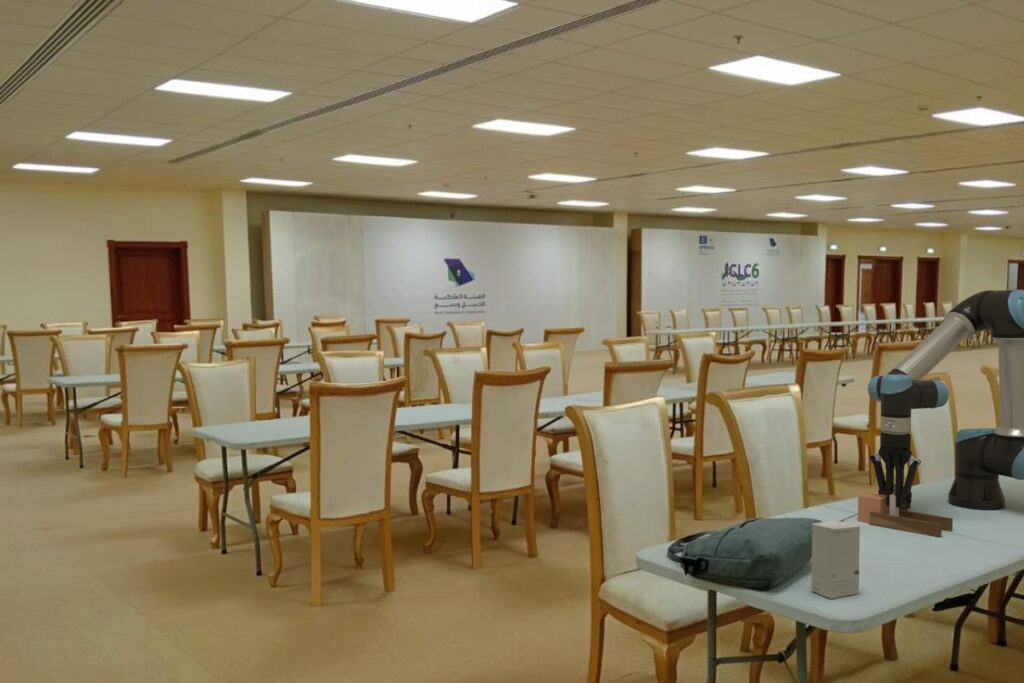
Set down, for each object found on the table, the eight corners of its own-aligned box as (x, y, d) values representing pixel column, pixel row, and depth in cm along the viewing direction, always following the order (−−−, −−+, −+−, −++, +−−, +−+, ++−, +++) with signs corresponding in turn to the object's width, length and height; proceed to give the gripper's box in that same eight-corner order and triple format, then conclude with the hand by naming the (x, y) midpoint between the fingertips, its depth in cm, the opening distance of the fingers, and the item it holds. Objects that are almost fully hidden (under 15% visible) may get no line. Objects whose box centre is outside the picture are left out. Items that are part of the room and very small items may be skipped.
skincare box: (830, 600, 179) (831, 529, 178) (809, 591, 184) (810, 522, 184) (860, 594, 182) (861, 524, 181) (839, 585, 188) (840, 518, 187)
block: (867, 517, 241) (867, 492, 241) (888, 520, 237) (889, 495, 237) (857, 521, 237) (858, 495, 237) (879, 525, 233) (880, 499, 233)
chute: (857, 516, 247) (857, 501, 246) (954, 534, 228) (954, 517, 228) (838, 524, 238) (838, 508, 238) (937, 543, 220) (937, 525, 219)
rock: (916, 515, 253) (880, 509, 259) (918, 486, 254) (882, 481, 260) (907, 517, 244) (870, 511, 250) (910, 487, 244) (873, 481, 250)
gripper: (865, 431, 234) (864, 516, 235) (915, 436, 225) (913, 525, 226) (876, 428, 239) (875, 512, 240) (925, 433, 230) (924, 520, 231)
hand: (894, 518), depth 233 cm, fingers closed
